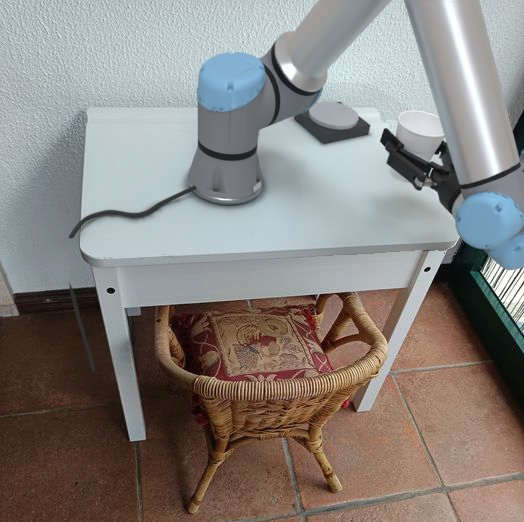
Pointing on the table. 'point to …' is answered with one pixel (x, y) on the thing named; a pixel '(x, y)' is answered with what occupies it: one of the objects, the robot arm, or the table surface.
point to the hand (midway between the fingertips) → (403, 133)
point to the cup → (418, 135)
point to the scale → (333, 122)
